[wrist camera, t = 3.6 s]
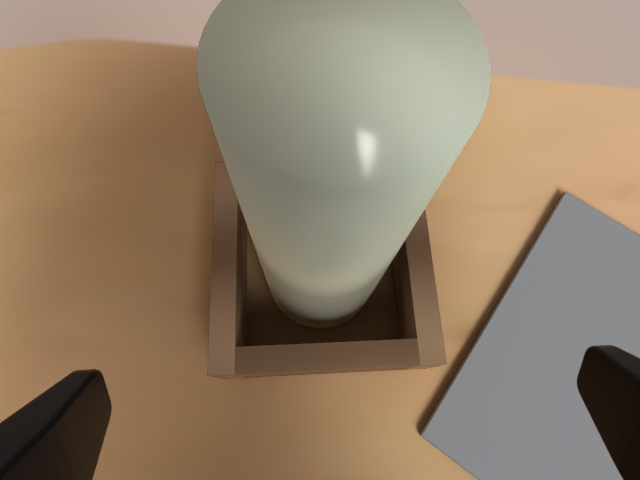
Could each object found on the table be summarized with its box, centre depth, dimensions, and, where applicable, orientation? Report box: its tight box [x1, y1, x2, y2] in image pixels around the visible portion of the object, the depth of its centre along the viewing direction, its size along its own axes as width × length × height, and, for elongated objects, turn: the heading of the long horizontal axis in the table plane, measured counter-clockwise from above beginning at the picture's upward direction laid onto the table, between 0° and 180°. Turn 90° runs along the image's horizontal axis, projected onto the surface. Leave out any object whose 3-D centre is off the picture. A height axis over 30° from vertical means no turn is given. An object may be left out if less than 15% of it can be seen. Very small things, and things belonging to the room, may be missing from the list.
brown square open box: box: [207, 162, 447, 378], centre depth 19 cm, size 9×9×3 cm
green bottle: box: [197, 0, 491, 328], centre depth 14 cm, size 5×5×14 cm
